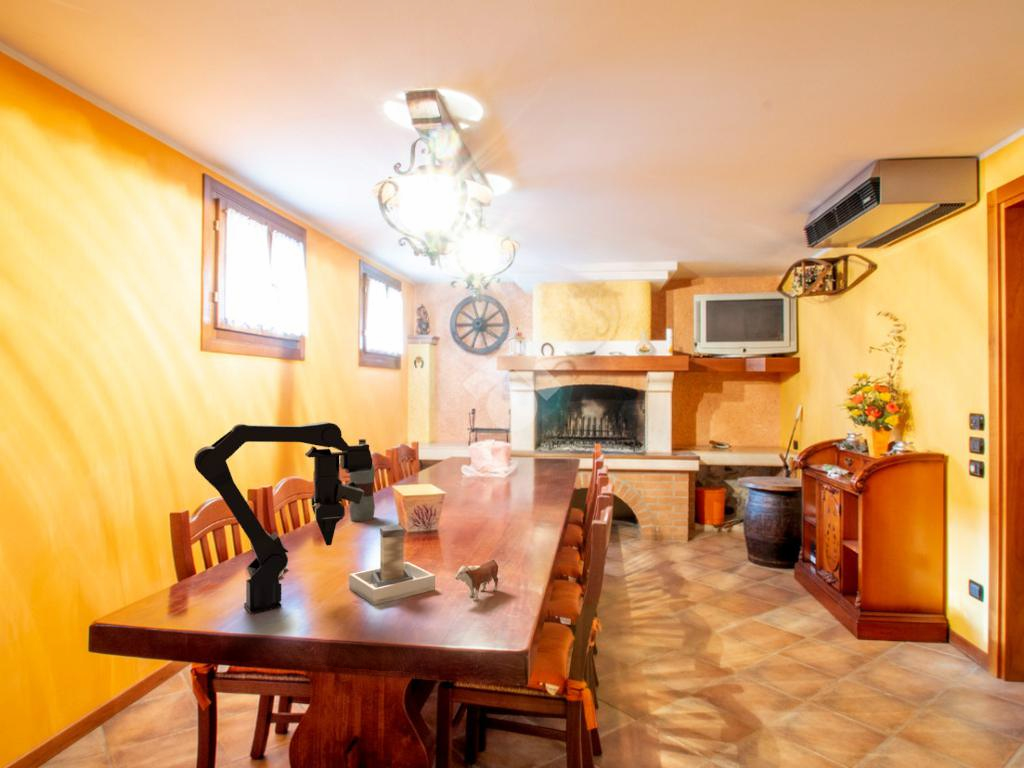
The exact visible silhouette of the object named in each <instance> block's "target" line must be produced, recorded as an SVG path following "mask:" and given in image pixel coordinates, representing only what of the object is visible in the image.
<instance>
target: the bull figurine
mask: <svg viewBox="0 0 1024 768" xmlns="http://www.w3.org/2000/svg"><path fill="white" fill-rule="evenodd" d="M498 572H499V565H498V563H497V562H496V561H495V560H494V559H491V560H489V561H487V562H483V563H481V564H479V565H469V566H468V567H466V565H462V566H461V567H460V568H459V569H458V571H457V573H456V575H454V580H456V581H459V580H460V581H461V582H463V583H464V582H465V584H466V585H467V586H468V588H469V589H470V595H469V598H473V597H474V598H473V601H474V602H478V600H479V593H480V592H484V591H485V590H487V589H486V588H487V584H488V585H489V584H490V582H492V581H493V582H494V588H493V592H497V591H498V590H499V587H498V584H499V583H498V582H499V577H498ZM481 585H482V587H481ZM474 589H475V590H474Z"/></svg>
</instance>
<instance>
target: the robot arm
mask: <svg viewBox="0 0 1024 768" xmlns="http://www.w3.org/2000/svg"><path fill="white" fill-rule="evenodd" d="M247 442H248V443H249V442H250V443H252V442H253V443H254V442H255V443H302V444H308V445H312V446H311V448H310V449H309V450H308V451H307V452H305V454H304V455H305V457H308V458H313V459H314V463H313V464H314V465H313V466H314V468H313V469H314V470H313V471H314V473H313V474H314V475H313V485H314V491H313V492H314V493H313V494H312V495H311V496H310V504H311V508H312V512H313V513H314V516H315V517H314V518H315V520H316V524H317V526H318V528H319V530H320V533H321V536H322V538H323V540H324V543H325V545H326V546H331V545H332V544H333V539H334V537H335V536H334V535H335V531H336V527H337V524H338V522H340V521H341V520H343V519H344V517H345V515H346V512H345V506H344V505H343V503H342V502H343V500H345V501H349V502H350V501H351V502H354V503H356V504H360V503H361V500H362V497H363V495H364V491H363V490H362V489H360V488H357V483H356V482H352V481H350V480H349V482H347V483H343V481H342V480H341V478H340V468H341V470H344V471H345V473H346V474H350V473H356V472H369V471H371V469H372V464H373V458H372V453H371V451H370V445H369V444H368V443H366V444H361V445H359V444H355V445H349V444H348V443H347V442H346V441H345V439H344V438H343V434H342V429H341V428H340V427H339V425H338V424H336V423H333V422H329V421H321V422H320V421H319V422H314V423H313V422H312V423H307V424H303V425H267V424H265V425H262V424H259V425H258V424H245V423H239V424H235V425H234V426H233V427H232V428H231V430H229V431H228V432H226V434H223V436H221V437H220V438H219V439H218V440H216V441H215V442H214V443H213V444H212V445H207V446H203V447H201V448H200V449H198V450H197V452H196V453H195V454H194V458H193V463H194V466H195V467H194V468H195V469H196V470H197V471H198V473H199V474H200V475H201V476H202V477H203V478H204V479H205V481H207V483H209V484H210V485H211V486H212V487H213V488H214V489H215V490H216V491H217V492H218V493H219V495H220V497H221V498H222V500H223V501H224V503H225V505H226V506H227V507H228V509H229V510H230V512H231V514H232V515H233V517H234V518H235V520H236V521H237V523H238V524H239V526H240V527H241V529H242V531H244V533H245V535H246V536H247V538H248V540H249V541H250V545H251V546H252V549H253V552H254V555H255V558H254V559H253V560H252V561H251V562H250V564H248V565H247V567H246V569H247V573H248V575H249V579H246V580H245V581H246V586H245V588H246V590H245V594H246V595H245V596H246V597H245V599H246V600H245V602H244V604H243V606H244V607H245V608H246V609H247V610H248V612H249V613H250V614H256V613H261V612H265V611H268V610H273V609H277V608H281V607H282V603H281V602H282V583H281V582H280V577H279V574H280V572H281V571H283V570H284V569H285V567H286V565H287V562H288V563H289V557H288V555H287V553H289V550H288V549H287V546H286V545H285V544H284V543H282V540H281V538H280V536H279V535H278V533H277V532H276V531H274V532H272V533H271V534H269V532H267V530H266V529H264V527H263V525H262V524H261V522H260V520H259V519H258V518H257V516H256V515H255V513H254V512H253V510H252V508H251V507H250V505H249V504H248V502H247V500H246V499H245V497H244V496H243V494H242V493H241V491H240V489H239V488H238V486H237V484H236V483H235V481H234V479H233V476H232V473H231V471H230V468H229V465H228V463H227V460H229V458H231V457H232V456H233V455H234V454H235V453H236V452H237V451H238V450H239V449H240V448H241V447H242V446H243V445H244V444H245V443H247ZM315 446H317V447H323V448H320V449H317V447H315ZM330 448H333V449H335V450H337V451H336V452H335V451H334V452H332V451H331V449H330ZM285 570H286V569H285ZM285 570H284V571H285ZM284 571H283V572H284Z"/></svg>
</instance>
